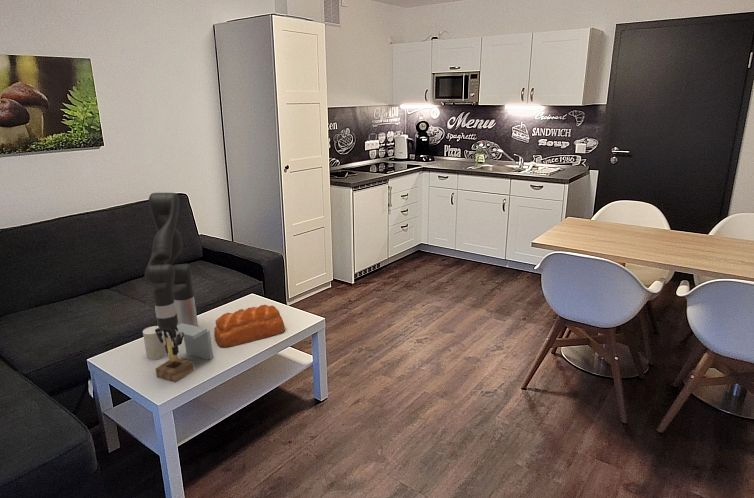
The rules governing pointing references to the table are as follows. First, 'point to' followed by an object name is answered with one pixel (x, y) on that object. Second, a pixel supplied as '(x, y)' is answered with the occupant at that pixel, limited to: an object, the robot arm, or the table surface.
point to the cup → (153, 344)
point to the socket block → (174, 369)
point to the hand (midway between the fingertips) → (172, 353)
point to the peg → (170, 351)
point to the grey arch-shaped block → (196, 341)
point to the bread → (248, 325)
